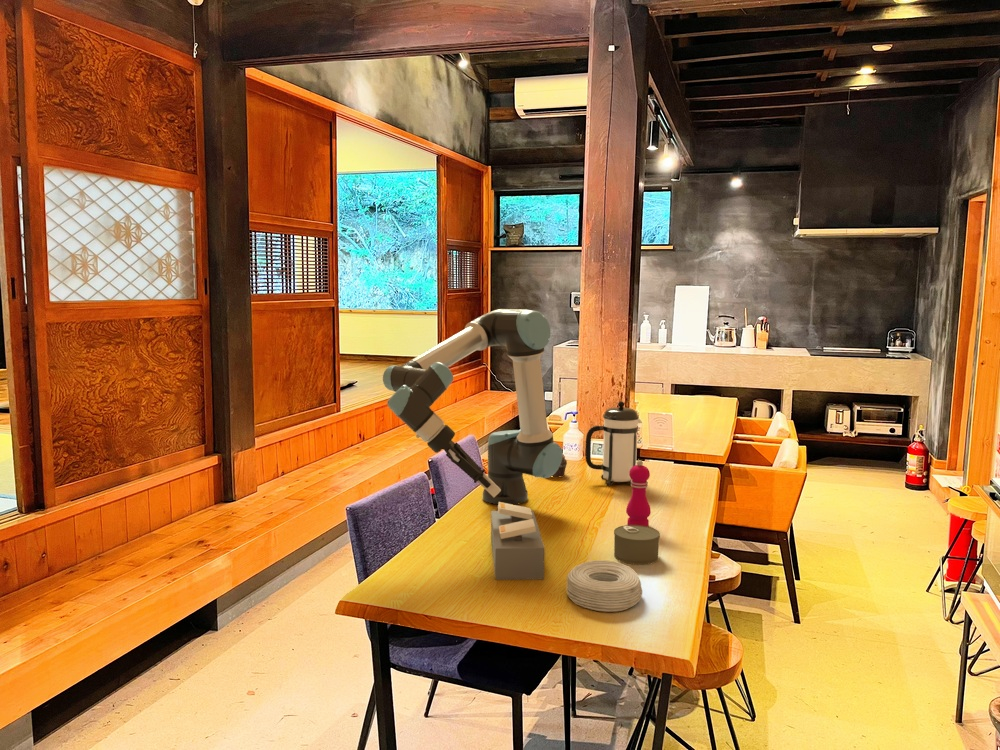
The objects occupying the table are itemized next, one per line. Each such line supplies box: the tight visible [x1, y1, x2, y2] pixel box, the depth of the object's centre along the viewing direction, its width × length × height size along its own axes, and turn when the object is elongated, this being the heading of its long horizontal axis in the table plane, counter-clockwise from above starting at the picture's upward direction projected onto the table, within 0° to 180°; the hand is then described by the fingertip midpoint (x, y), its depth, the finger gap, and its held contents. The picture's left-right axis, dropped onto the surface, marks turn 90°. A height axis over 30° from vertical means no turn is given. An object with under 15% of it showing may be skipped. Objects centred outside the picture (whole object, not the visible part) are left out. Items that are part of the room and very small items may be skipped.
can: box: [613, 524, 661, 566], centre depth 198 cm, size 12×12×7 cm
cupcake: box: [552, 450, 568, 478], centre depth 282 cm, size 10×10×10 cm
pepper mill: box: [625, 460, 652, 527], centre depth 223 cm, size 7×7×20 cm
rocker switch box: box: [490, 510, 546, 581], centre depth 200 cm, size 36×12×9 cm, turn 3°
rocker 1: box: [497, 502, 532, 519], centre depth 204 cm, size 6×9×2 cm, turn 93°
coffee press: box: [585, 400, 643, 487], centre depth 270 cm, size 17×16×30 cm
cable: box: [566, 559, 643, 613], centre depth 173 cm, size 18×18×6 cm
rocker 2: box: [499, 519, 536, 539], centre depth 189 cm, size 6×9×2 cm, turn 93°
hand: (497, 493), depth 203 cm, fingers closed
